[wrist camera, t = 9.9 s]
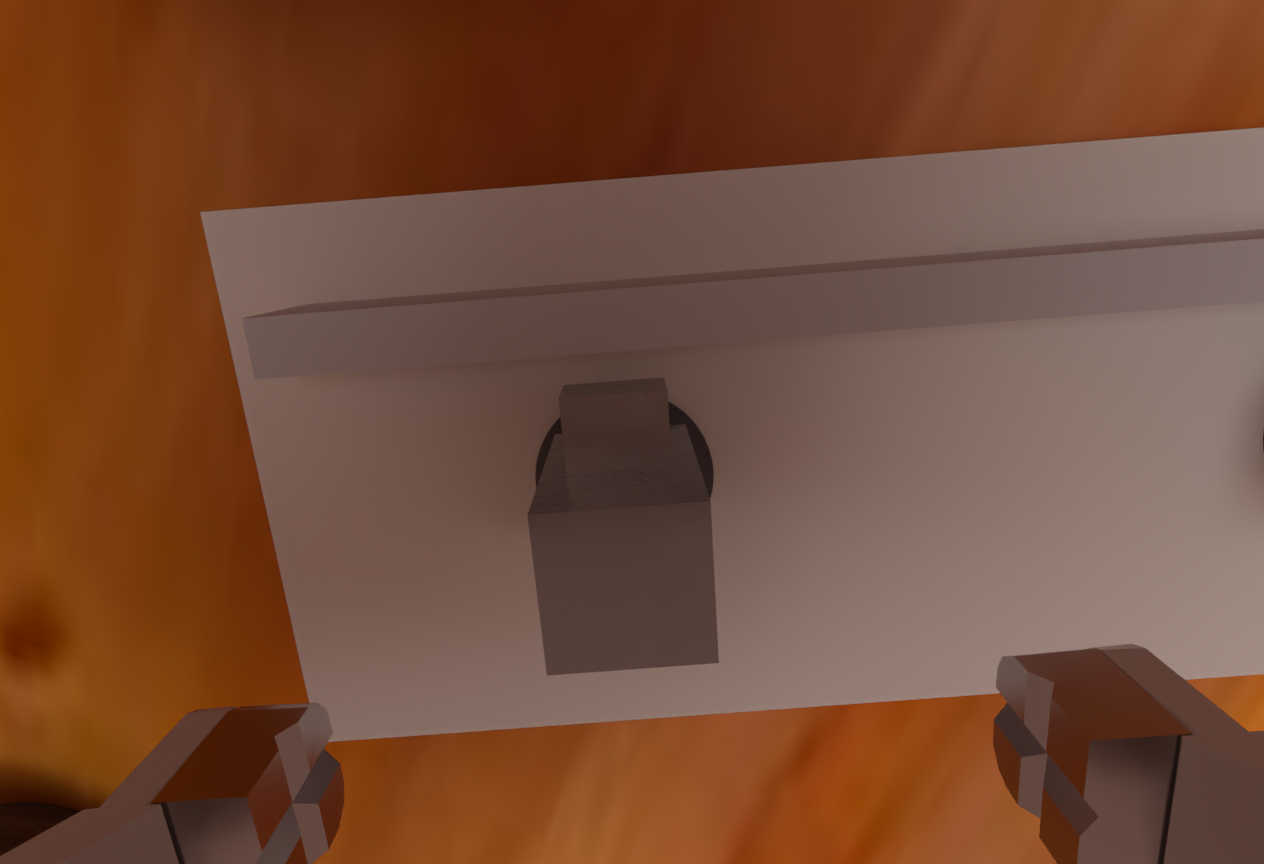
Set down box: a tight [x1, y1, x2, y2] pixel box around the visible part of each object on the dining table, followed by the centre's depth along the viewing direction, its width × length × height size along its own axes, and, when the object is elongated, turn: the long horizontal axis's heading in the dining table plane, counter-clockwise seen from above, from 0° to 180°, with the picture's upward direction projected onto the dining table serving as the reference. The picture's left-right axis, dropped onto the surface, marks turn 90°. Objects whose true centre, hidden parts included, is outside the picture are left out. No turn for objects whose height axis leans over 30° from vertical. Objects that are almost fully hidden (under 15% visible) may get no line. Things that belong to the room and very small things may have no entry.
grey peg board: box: [200, 128, 1264, 742], centre depth 17 cm, size 30×14×7 cm, turn 94°
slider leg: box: [527, 377, 719, 676], centre depth 15 cm, size 3×4×5 cm, turn 4°
